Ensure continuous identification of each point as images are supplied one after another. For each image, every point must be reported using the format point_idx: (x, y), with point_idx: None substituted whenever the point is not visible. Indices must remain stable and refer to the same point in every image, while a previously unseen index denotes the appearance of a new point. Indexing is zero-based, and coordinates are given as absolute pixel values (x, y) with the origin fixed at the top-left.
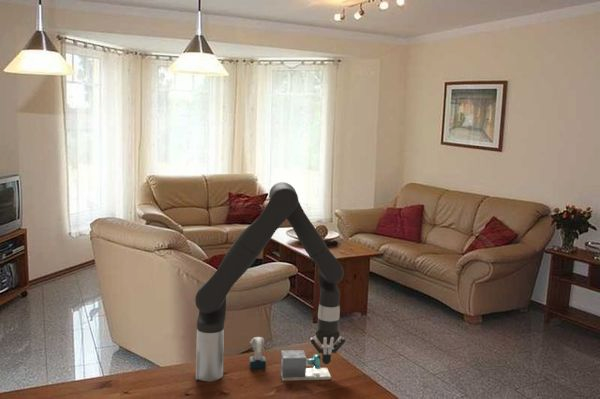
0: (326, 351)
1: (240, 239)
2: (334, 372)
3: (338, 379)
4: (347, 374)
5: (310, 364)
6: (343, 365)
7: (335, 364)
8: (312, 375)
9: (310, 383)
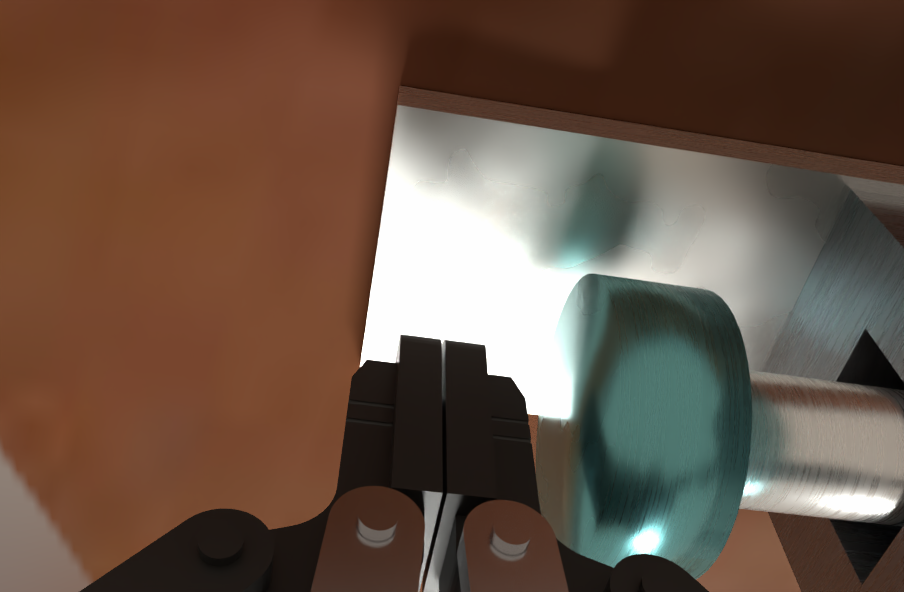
0: (474, 572)
1: None
2: (262, 293)
3: (257, 56)
4: (53, 194)
5: (775, 375)
6: (74, 445)
7: (186, 484)
8: (704, 214)
9: (821, 21)
